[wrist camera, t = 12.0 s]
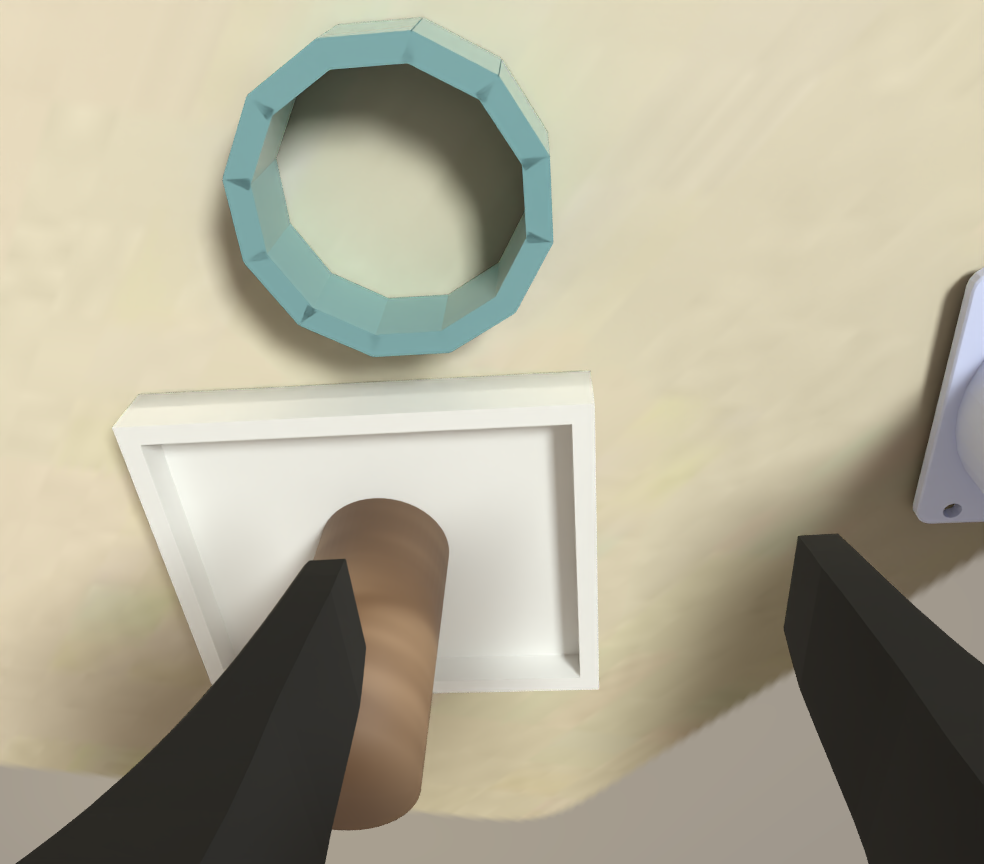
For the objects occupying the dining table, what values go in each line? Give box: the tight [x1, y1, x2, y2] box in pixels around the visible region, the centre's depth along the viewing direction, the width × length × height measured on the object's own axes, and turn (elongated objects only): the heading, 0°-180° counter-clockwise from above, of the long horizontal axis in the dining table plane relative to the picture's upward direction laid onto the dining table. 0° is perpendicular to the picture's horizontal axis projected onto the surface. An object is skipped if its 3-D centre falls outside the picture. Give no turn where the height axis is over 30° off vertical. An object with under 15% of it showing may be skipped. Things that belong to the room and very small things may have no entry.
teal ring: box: [223, 17, 553, 357], centre depth 19 cm, size 7×7×2 cm
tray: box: [112, 371, 599, 693], centre depth 26 cm, size 13×11×2 cm
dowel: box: [313, 498, 449, 830], centre depth 22 cm, size 4×4×8 cm
